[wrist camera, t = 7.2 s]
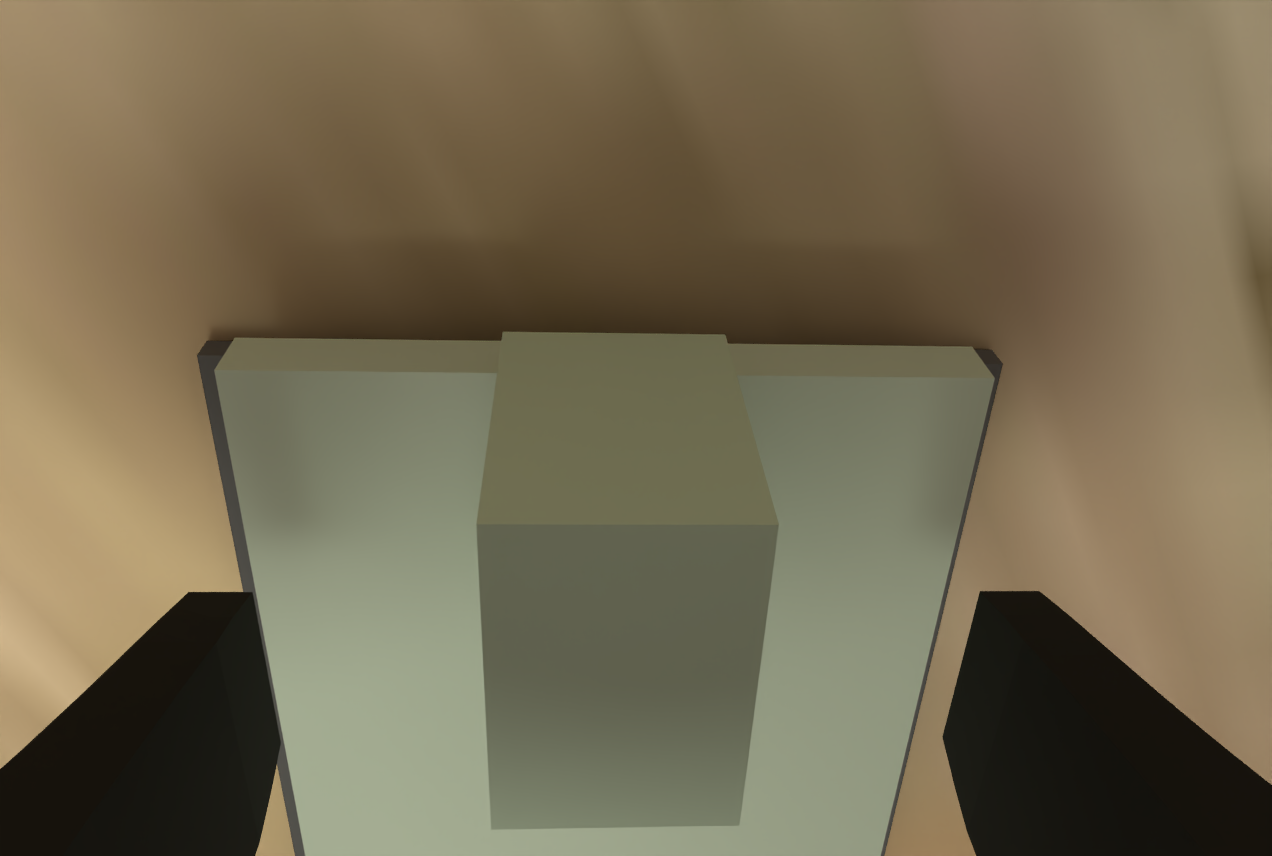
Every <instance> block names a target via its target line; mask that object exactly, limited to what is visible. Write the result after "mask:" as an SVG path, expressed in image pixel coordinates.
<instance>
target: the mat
mask: <svg viewBox="0 0 1272 856" xmlns="http://www.w3.org/2000/svg"><path fill="white" fill-rule="evenodd" d="M231 343H232V341H207V342H206V343H205V345H204V346H203V347H202V349H201V350H200V352H199V353H198V355H197V357H198V363H199V368H200V373H201V378H202V383H203V388H204V393H205V398H206V403H207V408H208V414H209V419H210V424H211V429H212V434H213V439H214V444H215V449H216V454H217V459H218V465H219V470H220V475H221V480H222V485H223V490H224V495H225V500H226V505H227V510H228V516H229V521H230V526H231V531H232V536H233V541H234V546H235V551H236V556H237V561H238V567H239V572H240V577H241V582H242V587H243V592H253V597H254V602H255V607H256V613H257V618H258V623H259V629H260V634H261V639H262V645H263V650H264V655H265V661H266V666H267V671H268V677H269V682H270V687H271V693H272V698H273V703H274V709H275V714H276V719H277V725H278V730H279V735H280V740H281V746H280V750H279V755H278V760H277V765H278V771H279V776H280V781H281V786H282V791H283V796H284V801H285V806H286V811H287V816H288V822H289V827H290V832H291V837H292V842H293V847H294V852H295V856H305V852H304V846H303V841H302V836H301V830H300V825H299V820H298V814H297V809H296V804H295V798H294V793H293V788H292V782H291V777H290V772H289V766H288V761H287V756H286V750H285V745H284V740H283V734H282V729H281V724H280V718H279V713H278V708H277V702H276V697H275V692H274V686H273V681H272V676H271V670H270V665H269V660H268V654H267V649H266V644H265V638H264V633H263V628H262V622H261V617H260V612H259V606H258V601H257V596H256V590H255V585H254V580H253V574H252V569H251V564H250V558H249V553H248V548H247V542H246V537H245V532H244V526H243V521H242V516H241V510H240V505H239V500H238V494H237V489H236V484H235V478H234V473H233V468H232V462H231V457H230V452H229V446H228V441H227V436H226V430H225V425H224V420H223V414H222V409H221V404H220V398H219V393H218V388H217V382H216V377H215V372H214V370H215V368H216V367H217V365H218V363H219V362H220V360H221V359H222V357H223V355H224V354H225V352H226V351H227V349H228V348H229V346H230V344H231ZM975 352H976V353H977V354H978V356H979V357H980V358H981V360H982V361H983V363H984V364H985V365H986V367H987V368H988V369H989V371H990V372H991V373H992V375H993V376H994V378H995V380H994V384H993V388H992V392H991V396H990V401H989V405H988V409H987V413H986V417H985V422H984V426H983V430H982V434H981V438H980V442H979V447H978V451H977V455H976V459H975V463H974V468H973V472H972V476H971V480H970V484H969V488H968V493H967V497H966V501H965V505H964V509H963V514H962V518H961V522H960V526H959V530H958V534H957V539H956V543H955V547H954V551H953V555H952V560H951V564H950V568H949V572H948V576H947V580H946V585H945V589H944V593H943V597H942V601H941V606H940V610H939V614H938V618H937V622H936V626H935V631H934V635H933V639H932V643H931V647H930V651H929V656H928V660H927V664H926V668H925V672H924V677H923V681H922V685H921V689H920V693H919V697H918V702H917V706H916V710H915V714H914V718H913V723H912V727H911V731H910V735H909V739H908V743H907V748H906V752H905V756H904V760H903V764H902V769H901V773H900V777H899V781H898V785H897V789H896V794H895V798H894V802H893V806H892V810H891V815H890V819H889V823H888V827H887V831H886V835H885V840H884V844H883V848H882V852H881V856H884V855H885V850H886V846H887V842H888V838H889V834H890V830H891V826H892V821H893V817H894V813H895V809H896V805H897V801H898V796H899V792H900V788H901V784H902V780H903V776H904V772H905V767H906V763H907V759H908V755H909V751H910V747H911V742H912V738H913V734H914V730H915V726H916V722H917V718H918V713H919V709H920V705H921V701H922V697H923V693H924V688H925V684H926V680H927V676H928V672H929V668H930V664H931V659H932V655H933V651H934V647H935V643H936V639H937V634H938V630H939V626H940V622H941V618H942V614H943V610H944V605H945V601H946V597H947V593H948V589H949V585H950V580H951V576H952V572H953V568H954V564H955V560H956V556H957V551H958V547H959V543H960V539H961V535H962V531H963V526H964V522H965V518H966V514H967V510H968V506H969V502H970V497H971V493H972V489H973V485H974V481H975V477H976V472H977V468H978V464H979V460H980V456H981V452H982V448H983V443H984V439H985V435H986V431H987V427H988V423H989V418H990V414H991V410H992V406H993V402H994V398H995V394H996V389H997V385H998V381H999V377H1000V373H1001V369H1002V365H1003V364H1002V362H1001V361H1000V360H999V358H998V357H997V356H996V354H995V353H994V352H993V350H975Z"/></svg>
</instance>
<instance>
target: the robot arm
mask: <svg viewBox="0 0 1272 856" xmlns="http://www.w3.org/2000/svg"><path fill="white" fill-rule="evenodd" d="M943 741H944V745H945V749H946V753H947V757H948V761H949V765H950V769H951V773H952V777H953V781H954V785H955V789H956V793H957V796H958V800H959V804H960V807H961V811H962V815H963V818H964V822H965V825H966V829H967V832H968V835H969V838H970V840H971V843H972V845H973V848H974V851H975V853H976V856H1272V785H1271V784H1270V783H1268V782H1267V781H1266V780H1264V779H1263V778H1262V777H1261V776H1259V775H1258V774H1257V773H1256V772H1254V771H1253V770H1252V769H1251V768H1249V767H1248V766H1247V765H1246V764H1244V763H1243V762H1242V761H1241V760H1239V759H1238V758H1237V757H1236V756H1234V755H1233V754H1232V753H1231V752H1229V751H1228V750H1227V749H1226V748H1224V747H1223V746H1222V745H1221V744H1219V743H1218V742H1217V741H1216V740H1215V739H1213V738H1212V737H1211V736H1210V735H1208V734H1207V733H1206V732H1205V731H1204V730H1202V729H1201V728H1200V727H1199V726H1198V725H1196V724H1195V723H1194V722H1193V721H1192V720H1190V719H1189V718H1188V717H1187V716H1186V715H1184V714H1183V713H1182V712H1181V711H1180V710H1178V709H1177V708H1176V707H1175V706H1174V705H1173V704H1171V703H1170V702H1169V701H1168V700H1167V699H1165V698H1164V697H1163V696H1162V695H1161V694H1160V693H1158V692H1157V691H1156V690H1155V689H1154V688H1153V687H1151V686H1150V685H1149V684H1148V683H1147V682H1146V681H1144V680H1143V679H1142V678H1141V677H1140V676H1139V675H1137V674H1136V673H1135V672H1134V671H1133V670H1132V669H1130V668H1129V667H1128V666H1127V665H1126V664H1125V663H1124V662H1122V661H1121V660H1120V659H1119V658H1118V657H1117V656H1115V655H1114V654H1113V653H1112V652H1111V651H1110V650H1109V649H1107V648H1106V647H1105V646H1104V645H1103V644H1102V643H1100V642H1099V641H1098V640H1097V639H1096V638H1095V637H1093V636H1092V635H1091V634H1090V633H1089V632H1088V631H1087V630H1085V629H1084V628H1083V627H1082V626H1081V625H1080V624H1078V623H1077V622H1076V621H1075V620H1074V619H1073V618H1071V617H1070V616H1069V615H1068V614H1067V613H1065V612H1064V611H1063V610H1062V609H1061V608H1059V607H1058V606H1057V605H1056V604H1055V603H1053V602H1052V601H1051V600H1050V599H1048V598H1047V597H1046V596H1045V595H1043V594H1042V593H1041V592H1039V591H980V594H979V598H978V601H977V605H976V609H975V613H974V617H973V621H972V625H971V629H970V632H969V636H968V640H967V644H966V648H965V652H964V656H963V660H962V664H961V667H960V671H959V675H958V679H957V683H956V687H955V691H954V695H953V698H952V702H951V706H950V710H949V714H948V718H947V722H946V726H945V730H944V733H943ZM280 746H281V740H280V735H279V730H278V725H277V719H276V714H275V709H274V703H273V698H272V693H271V687H270V682H269V677H268V671H267V666H266V661H265V655H264V650H263V645H262V639H261V634H260V629H259V623H258V618H257V613H256V607H255V602H254V597H253V592H188V593H187V594H186V595H185V596H184V597H183V598H182V599H181V600H180V601H179V602H178V603H177V604H176V605H174V606H173V607H172V608H171V609H170V610H169V611H168V612H167V613H166V614H165V615H164V616H163V617H161V618H160V619H159V620H158V621H157V622H156V623H155V624H154V625H153V626H152V627H151V628H150V629H149V630H148V631H147V632H146V633H145V634H144V635H143V636H142V637H141V638H140V639H139V640H138V641H136V642H135V643H134V644H133V645H132V646H131V647H130V648H129V649H128V650H127V651H126V652H125V653H124V654H123V655H122V656H121V657H120V658H119V659H118V660H117V661H116V662H115V663H114V664H113V665H112V666H111V667H110V668H109V669H108V670H106V671H105V672H104V673H103V674H102V675H101V676H100V677H99V678H98V679H97V680H96V681H95V682H94V683H93V684H92V685H91V686H90V687H89V688H88V689H87V690H86V691H85V692H84V693H83V694H81V695H80V696H79V697H78V698H77V699H76V700H75V701H74V702H73V703H72V704H71V705H70V706H69V707H68V708H66V709H65V710H64V711H63V712H62V713H61V714H60V715H59V716H58V717H57V718H56V719H55V720H53V721H52V722H51V723H50V724H49V725H48V726H47V727H46V728H45V729H44V730H43V731H42V732H41V733H39V734H38V735H37V736H36V737H35V738H34V739H33V740H32V741H31V742H30V743H29V744H28V745H26V746H25V747H24V748H23V749H22V750H21V751H20V752H19V753H18V754H17V755H16V756H15V757H13V758H12V759H11V760H10V761H9V762H8V763H7V764H6V765H4V766H3V767H2V768H1V769H0V856H255V854H256V851H257V848H258V845H259V842H260V838H261V833H262V829H263V825H264V820H265V816H266V812H267V807H268V803H269V799H270V794H271V789H272V784H273V779H274V775H275V770H276V765H277V760H278V755H279V750H280Z"/></svg>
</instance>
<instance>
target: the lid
mask: <svg viewBox="0 0 1272 856" xmlns="http://www.w3.org/2000/svg"><path fill="white" fill-rule="evenodd" d="M214 372H215V377H216V382H217V388H218V393H219V398H220V404H221V409H222V414H223V420H224V425H225V430H226V436H227V441H228V446H229V452H230V457H231V462H232V468H233V473H234V478H235V484H236V489H237V494H238V500H239V505H240V510H241V516H242V521H243V526H244V532H245V537H246V542H247V548H248V553H249V558H250V564H251V569H252V574H253V580H254V585H255V590H256V596H257V601H258V606H259V612H260V617H261V622H262V628H263V633H264V638H265V644H266V649H267V654H268V660H269V665H270V670H271V676H272V681H273V686H274V692H275V697H276V702H277V708H278V713H279V718H280V724H281V729H282V734H283V740H284V745H285V750H286V756H287V761H288V766H289V772H290V777H291V782H292V788H293V793H294V798H295V804H296V809H297V814H298V820H299V825H300V830H301V836H302V841H303V846H304V852H305V856H881V852H882V848H883V844H884V840H885V835H886V831H887V827H888V823H889V819H890V815H891V810H892V806H893V802H894V798H895V794H896V789H897V785H898V781H899V777H900V773H901V769H902V764H903V760H904V756H905V752H906V748H907V743H908V739H909V735H910V731H911V727H912V723H913V718H914V714H915V710H916V706H917V702H918V697H919V693H920V689H921V685H922V681H923V677H924V672H925V668H926V664H927V660H928V656H929V651H930V647H931V643H932V639H933V635H934V631H935V626H936V622H937V618H938V614H939V610H940V606H941V601H942V597H943V593H944V589H945V585H946V580H947V576H948V572H949V568H950V564H951V560H952V555H953V551H954V547H955V543H956V539H957V534H958V530H959V526H960V522H961V518H962V514H963V509H964V505H965V501H966V497H967V493H968V488H969V484H970V480H971V476H972V472H973V468H974V463H975V459H976V455H977V451H978V447H979V442H980V438H981V434H982V430H983V426H984V422H985V417H986V413H987V409H988V405H989V401H990V396H991V392H992V388H993V384H994V380H995V378H994V376H993V375H992V373H991V372H990V371H989V369H988V368H987V367H986V365H985V364H984V363H983V361H982V360H981V358H980V357H979V356H978V354H977V353H976V352H975V350H974V349H973V347H964V346H882V345H799V344H728V342H727V339H726V335H725V334H646V333H567V332H503V333H502V340H501V341H470V340H387V339H305V338H234V340H233V341H232V343H231V344H230V346H229V348H228V349H227V351H226V352H225V354H224V355H223V357H222V359H221V360H220V362H219V363H218V365H217V367H216V368H215V370H214Z"/></svg>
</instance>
